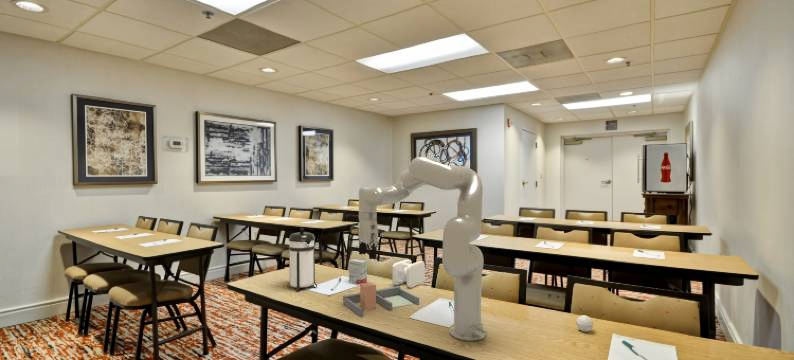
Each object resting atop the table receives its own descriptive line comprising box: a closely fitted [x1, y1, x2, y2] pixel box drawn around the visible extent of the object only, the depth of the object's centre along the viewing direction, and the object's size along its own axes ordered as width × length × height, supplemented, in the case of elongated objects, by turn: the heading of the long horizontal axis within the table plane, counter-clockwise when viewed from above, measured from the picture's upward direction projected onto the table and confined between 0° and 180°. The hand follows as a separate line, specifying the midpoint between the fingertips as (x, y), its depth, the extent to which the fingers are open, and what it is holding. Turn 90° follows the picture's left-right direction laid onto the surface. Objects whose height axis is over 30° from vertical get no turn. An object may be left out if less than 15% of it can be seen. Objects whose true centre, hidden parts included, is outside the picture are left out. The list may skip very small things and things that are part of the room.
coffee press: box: [287, 227, 318, 293], centre depth 194 cm, size 17×16×30 cm
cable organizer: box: [391, 258, 426, 289], centre depth 198 cm, size 15×11×12 cm
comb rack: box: [342, 285, 420, 318], centre depth 169 cm, size 18×28×4 cm, turn 120°
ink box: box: [348, 258, 368, 285], centre depth 202 cm, size 9×5×12 cm, turn 58°
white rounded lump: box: [575, 314, 594, 332], centre depth 139 cm, size 8×6×6 cm
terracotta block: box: [359, 281, 377, 311], centre depth 165 cm, size 5×5×10 cm
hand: (367, 256), depth 164 cm, fingers open, 9 cm apart
